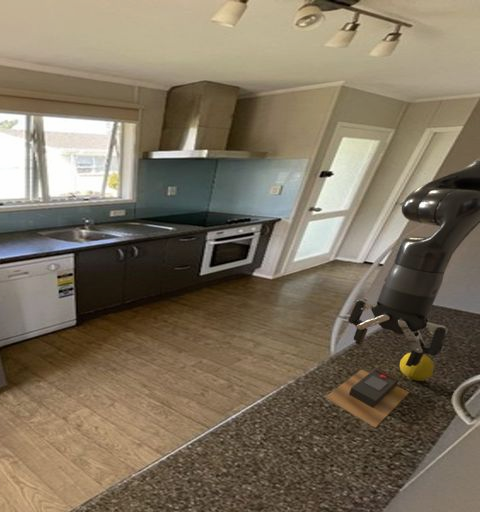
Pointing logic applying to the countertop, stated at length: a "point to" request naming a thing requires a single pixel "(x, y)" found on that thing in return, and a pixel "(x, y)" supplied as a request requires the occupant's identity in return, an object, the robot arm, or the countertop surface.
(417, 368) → the lemon
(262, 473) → the countertop surface
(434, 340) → the robot arm
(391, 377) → the remote
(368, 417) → the placemat
